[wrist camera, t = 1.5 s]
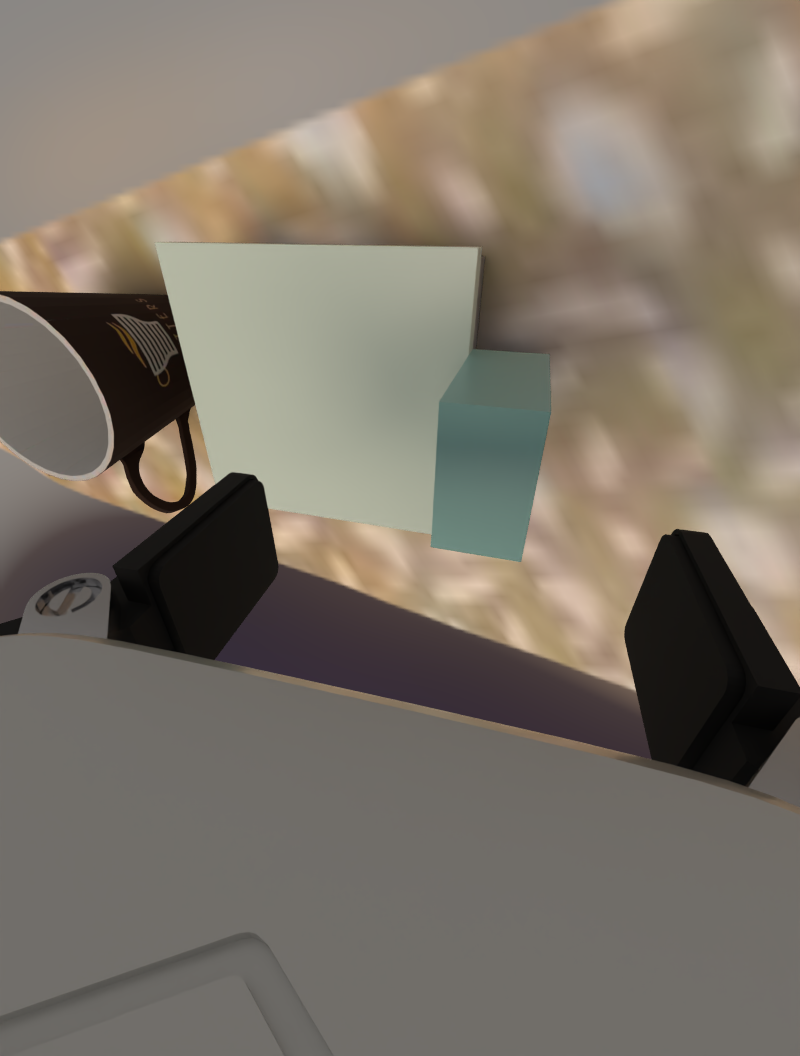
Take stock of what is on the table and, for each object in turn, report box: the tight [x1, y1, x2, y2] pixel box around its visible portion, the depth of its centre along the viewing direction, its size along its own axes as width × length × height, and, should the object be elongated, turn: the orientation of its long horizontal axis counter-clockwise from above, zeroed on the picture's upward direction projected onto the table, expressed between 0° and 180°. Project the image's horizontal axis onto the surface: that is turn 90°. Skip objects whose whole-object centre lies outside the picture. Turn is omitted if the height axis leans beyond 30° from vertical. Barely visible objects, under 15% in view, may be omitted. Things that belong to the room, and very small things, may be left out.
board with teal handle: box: [155, 242, 551, 562], centre depth 18 cm, size 16×12×7 cm
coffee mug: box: [0, 291, 196, 513], centre depth 25 cm, size 12×9×10 cm
